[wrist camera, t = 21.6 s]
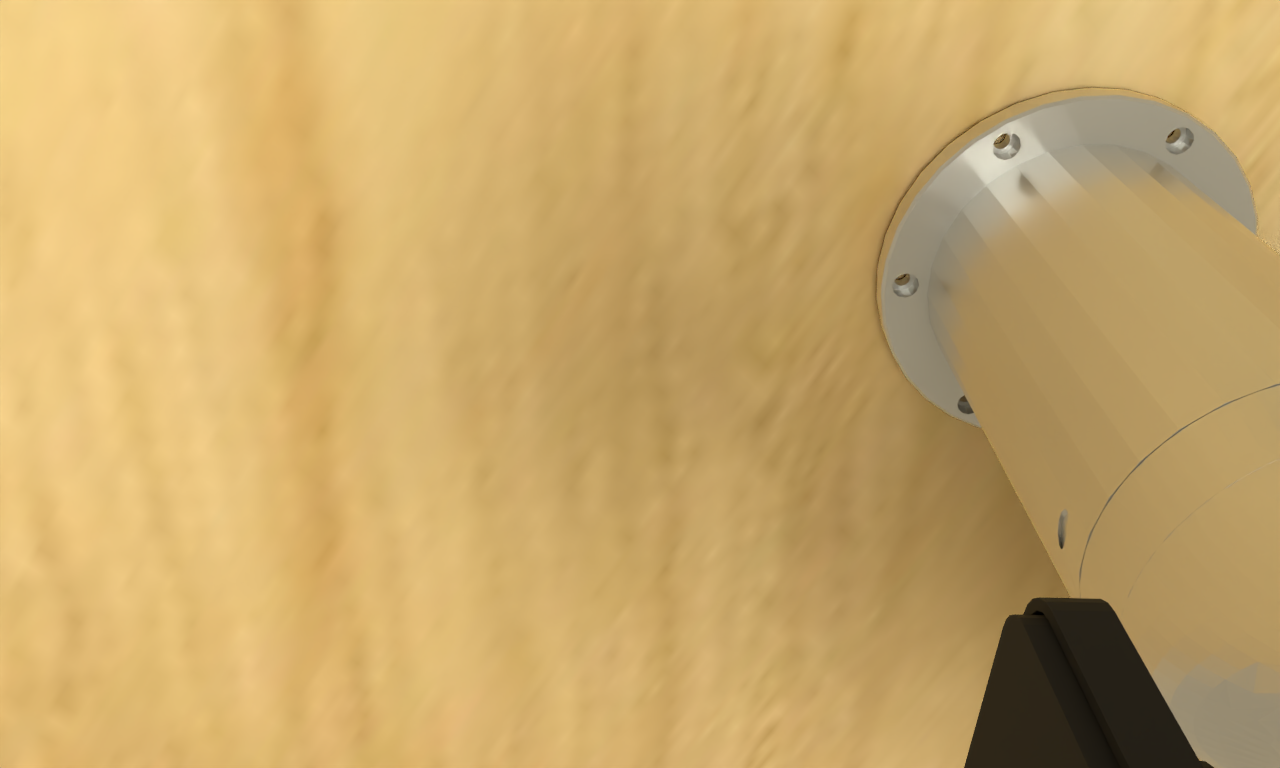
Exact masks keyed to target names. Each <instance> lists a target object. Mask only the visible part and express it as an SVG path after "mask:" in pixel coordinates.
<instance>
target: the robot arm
mask: <svg viewBox="0 0 1280 768" xmlns="http://www.w3.org/2000/svg"><path fill="white" fill-rule="evenodd" d="M1174 130H1175V131H1174ZM1172 131H1174V133H1173V135H1172V136H1171V137H1169V138H1167V137H1168V135H1169V134H1170V133H1171V132H1172ZM1005 133H1006V137H1005V139H1004V141H1002V142H1001V143H999V144H994V142H995V140H996V139H997V138H998V137H999V136H1000V135H1002V134H1005ZM903 274H906V277H904V278H903V279H901V280H895V279H897V278H898V277H899V276H900V275H903ZM876 299H877V305H878V310H879V316H880V322H881V327H882V330H883V332H884V335H885V337H886V340H887V342H888V345H889V347H890V350H891V353H892V354H893V356H894V358H895V360H896V361H897V363H898V365H899V367H900V368H901V370H902V372H903V374H904V375H905V377H906V378H907V380H908V381H909V382H910V383H911V384H912V385H913V386H914V387H915V388H916V389H917V390H918V391H919V393H920V394H921V395H922V396H923V397H924V398H925V399H926V400H928V401H929V402H931V403H932V404H933V405H935V406H936V407H938V408H939V409H941V410H942V411H944V412H945V413H946V414H948V415H949V416H952V417H954V418H956V419H959V420H961V421H963V422H966V423H968V424H970V425H973V426H975V427H978V428H982V429H983V431H984V433H985V435H986V437H987V439H988V440H989V442H990V444H991V446H992V448H993V450H994V452H995V454H996V456H997V458H998V460H999V462H1000V463H1001V465H1002V467H1003V469H1004V471H1005V473H1006V475H1007V477H1008V479H1009V481H1010V483H1011V484H1012V486H1013V488H1014V490H1015V492H1016V494H1017V496H1018V498H1019V500H1020V502H1021V504H1022V505H1023V507H1024V509H1025V511H1026V513H1027V515H1028V517H1029V519H1030V521H1031V523H1032V525H1033V527H1034V528H1035V530H1036V532H1037V534H1038V536H1039V538H1040V540H1041V542H1042V544H1043V546H1044V548H1045V549H1046V551H1047V553H1048V555H1049V557H1050V559H1051V561H1052V563H1053V565H1054V567H1055V569H1056V570H1057V572H1058V574H1059V576H1060V578H1061V580H1062V582H1063V584H1064V586H1065V588H1066V590H1067V592H1068V593H1069V595H1070V597H1071V598H1034V599H1032V600H1031V601H1030V602H1029V603H1028V605H1027V607H1026V609H1025V612H1024V614H1023V615H1010V616H1009V617H1008V618H1007V619H1006V621H1005V624H1004V626H1003V630H1002V633H1001V637H1000V641H999V644H998V648H997V651H996V655H995V659H994V662H993V666H992V669H991V673H990V677H989V680H988V684H987V687H986V691H985V695H984V698H983V702H982V705H981V709H980V713H979V716H978V720H977V723H976V727H975V731H974V734H973V738H972V741H971V745H970V749H969V752H968V756H967V759H966V763H965V767H964V768H1214V767H1215V768H1280V255H1279V254H1278V253H1277V252H1275V251H1274V250H1273V249H1272V248H1270V247H1269V246H1268V245H1267V244H1266V243H1264V242H1263V241H1262V240H1261V239H1259V238H1258V237H1257V212H1256V208H1255V203H1254V199H1253V194H1252V190H1251V186H1250V183H1249V181H1248V179H1247V177H1246V175H1245V173H1244V171H1243V169H1242V167H1241V165H1240V163H1239V161H1238V159H1237V157H1236V156H1235V155H1234V154H1233V153H1232V152H1231V150H1230V149H1229V148H1228V147H1227V146H1226V145H1225V143H1224V142H1223V141H1222V140H1221V139H1220V138H1219V137H1218V135H1217V134H1216V133H1215V132H1213V131H1212V130H1211V129H1209V128H1208V127H1207V126H1205V125H1204V124H1203V123H1201V122H1200V121H1199V120H1198V119H1196V118H1195V117H1194V116H1192V115H1191V114H1189V113H1187V112H1185V111H1183V110H1181V109H1180V108H1178V107H1176V106H1174V105H1172V104H1170V103H1168V102H1167V101H1165V100H1163V99H1160V98H1156V97H1153V96H1149V95H1145V94H1142V93H1138V92H1135V91H1131V90H1125V89H1110V88H1094V87H1090V88H1082V89H1074V90H1066V91H1058V92H1052V93H1049V94H1045V95H1042V96H1039V97H1036V98H1032V99H1029V100H1026V101H1023V102H1019V103H1016V104H1014V105H1012V106H1010V107H1008V108H1006V109H1004V110H1002V111H1000V112H998V113H996V114H994V115H992V116H990V117H988V118H986V119H984V120H982V121H980V122H979V123H977V124H976V125H975V126H973V127H972V128H971V129H969V130H968V131H966V132H965V133H964V134H962V135H961V136H960V137H958V138H957V139H955V140H954V141H953V142H951V143H950V144H949V145H948V146H947V147H946V148H945V149H944V150H943V151H942V152H941V153H940V154H939V155H938V156H937V157H936V158H935V159H934V160H933V161H932V162H931V163H930V164H929V165H928V166H927V167H926V168H925V169H924V170H923V171H922V172H921V173H920V175H919V176H918V178H917V179H916V181H915V182H914V183H913V185H912V186H911V188H910V189H909V191H908V192H907V193H906V195H905V196H904V198H903V199H902V201H901V202H900V204H899V206H898V208H897V211H896V213H895V215H894V217H893V219H892V221H891V224H890V226H889V228H888V230H887V232H886V235H885V238H884V243H883V247H882V251H881V255H880V259H879V263H878V267H877V294H876ZM1199 759H1200V760H1202V761H1199Z"/></svg>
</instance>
